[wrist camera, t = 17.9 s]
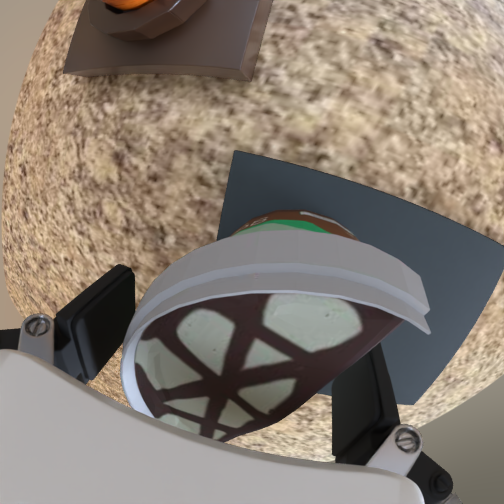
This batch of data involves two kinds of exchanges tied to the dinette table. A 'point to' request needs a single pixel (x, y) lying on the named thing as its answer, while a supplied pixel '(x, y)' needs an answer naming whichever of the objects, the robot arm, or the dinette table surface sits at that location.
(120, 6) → the button
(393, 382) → the mat
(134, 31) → the button box
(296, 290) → the food container
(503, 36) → the dinette table surface
